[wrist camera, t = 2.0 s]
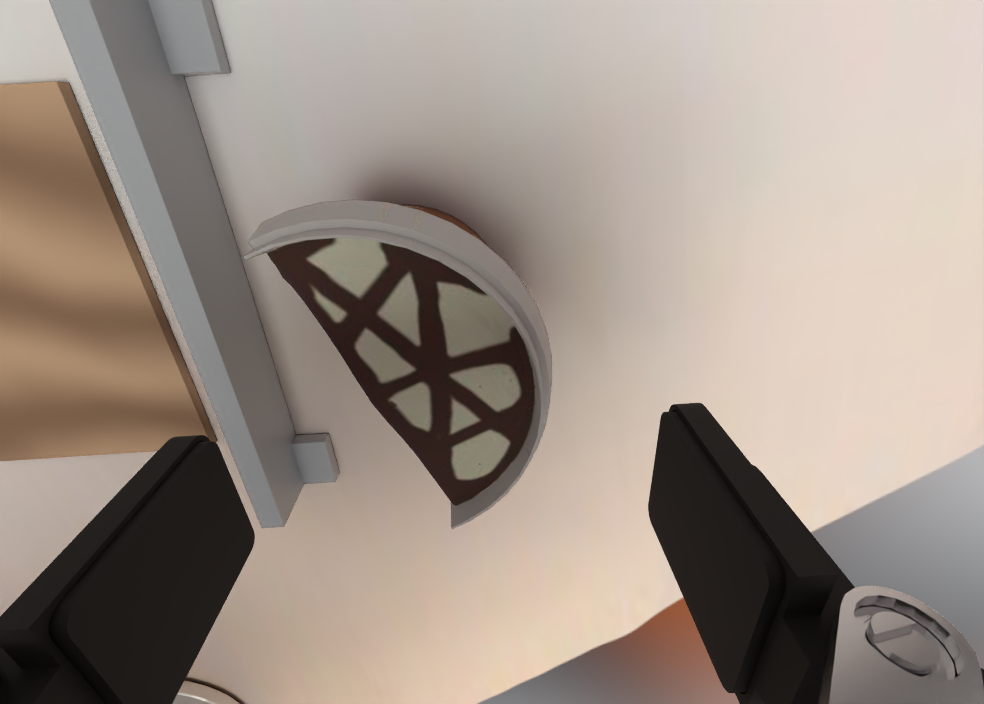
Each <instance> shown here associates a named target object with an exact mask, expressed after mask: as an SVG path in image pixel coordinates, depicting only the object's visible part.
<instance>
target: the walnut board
mask: <svg viewBox="0 0 984 704" xmlns="http://www.w3.org/2000/svg"><path fill="white" fill-rule="evenodd" d="M194 435H204V436H206V437H208V438H209V440H210V441H212V442H215V443H216V441H217V439H216V437H215V434H214V432H213V429H212V427H211V425H210V422H209V420H208V417H207V415H206V413H205V410H204V408H203V405H202V403H201V401H200V398H199V396H198V393H197V391H196V388H195V386H194V384H193V381H192V379H191V376H190V374H189V372H188V369H187V367H186V364H185V362H184V360H183V357H182V355H181V352H180V350H179V348H178V345H177V343H176V340H175V338H174V335H173V333H172V331H171V328H170V326H169V323H168V321H167V319H166V316H165V314H164V311H163V309H162V307H161V304H160V302H159V299H158V297H157V295H156V292H155V290H154V287H153V285H152V282H151V280H150V278H149V275H148V273H147V270H146V268H145V266H144V263H143V261H142V258H141V256H140V254H139V251H138V249H137V246H136V244H135V242H134V239H133V237H132V234H131V232H130V229H129V227H128V225H127V222H126V220H125V217H124V215H123V213H122V210H121V208H120V205H119V203H118V201H117V198H116V196H115V193H114V191H113V189H112V186H111V184H110V181H109V179H108V176H107V174H106V172H105V169H104V167H103V164H102V162H101V160H100V157H99V155H98V152H97V150H96V148H95V145H94V143H93V140H92V138H91V136H90V133H89V131H88V128H87V126H86V123H85V121H84V119H83V116H82V114H81V111H80V109H79V107H78V104H77V102H76V99H75V97H74V95H73V92H72V90H71V87H70V85H69V83H67V82H41V83H24V84H7V85H0V461H11V460H26V459H42V458H57V457H72V456H87V455H102V454H117V453H132V452H147V451H158V450H159V449H160V448H161V447H162V446H163V445H164V444H165V443H166V442H167V441H168V440H169V439H171V438H173V437H178V436H194Z"/></svg>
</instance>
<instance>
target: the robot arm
mask: <svg viewBox="0 0 984 704" xmlns="http://www.w3.org/2000/svg"><path fill="white" fill-rule="evenodd" d="M648 510H649V517H650V521H651V523H652V526H653V528H654V530H655V533H656V535H657V537H658V539H659V542H660V544H661V546H662V549H663V551H664V553H665V556H666V558H667V560H668V562H669V565H670V567H671V569H672V572H673V574H674V576H675V578H676V581H677V583H678V585H679V588H680V590H681V592H682V595H683V597H684V599H685V601H686V604H687V606H688V608H689V611H690V613H691V615H692V617H693V619H694V622H695V624H696V627H697V629H698V631H699V633H700V635H701V638H702V640H703V642H704V645H705V647H706V650H707V652H708V654H709V656H710V659H711V661H712V663H713V665H714V668H715V670H716V672H717V675H718V677H719V679H720V681H721V683H722V685H723V687H724V688H725V690H726V691H727V692H728V693H735V694H736V696H737V698H738V700H739V703H740V704H984V669H982V668H981V667H980V665H979V662H978V659H977V656H976V653H975V651H974V650H973V648H972V647H971V646H970V644H969V643H968V641H967V640H966V639H965V637H964V636H963V635H962V634H961V633H960V632H959V631H958V630H957V629H956V628H955V627H954V626H953V625H952V624H951V623H950V622H949V621H948V620H947V619H946V618H944V617H943V616H942V615H940V614H939V613H937V612H936V611H935V610H933V609H932V608H930V607H929V606H927V605H926V604H924V603H922V602H920V601H918V600H916V599H914V598H912V597H911V596H908V595H907V594H904V593H901V592H898V591H895V590H892V589H889V588H885V587H877V586H869V585H868V586H862V587H856V588H855V587H854V586H853V585H852V583H851V582H850V581H849V580H848V578H847V577H846V576H845V575H844V573H843V572H842V571H841V570H840V569H839V567H838V566H837V565H836V564H835V562H834V561H833V560H832V559H831V557H830V556H829V555H828V554H827V552H826V551H825V550H824V549H823V547H822V546H821V545H820V544H819V543H818V541H817V540H816V539H815V538H814V536H813V535H812V534H811V533H810V531H809V530H808V529H807V528H806V526H805V525H804V524H803V523H802V522H801V520H800V519H799V518H798V517H797V515H796V514H795V513H794V512H793V510H792V509H791V508H790V507H789V505H788V504H787V503H786V502H785V501H784V499H783V498H782V497H781V496H780V494H779V493H778V492H777V491H776V489H775V488H774V487H773V486H772V485H771V483H770V482H769V481H768V480H767V478H766V477H765V476H764V475H763V473H762V472H761V471H760V470H759V469H758V468H757V467H756V466H754V465H751V463H750V462H749V461H748V460H747V458H746V457H745V456H744V455H743V453H742V452H741V451H740V450H739V448H738V447H737V446H736V445H735V443H734V442H733V441H732V440H731V438H730V437H729V436H728V435H727V433H726V432H725V431H724V430H723V428H722V427H721V426H720V425H719V423H718V422H717V421H716V420H715V418H714V417H713V416H712V415H711V413H710V412H709V411H708V410H707V408H706V407H705V406H704V405H703V404H701V403H689V404H674V405H672V406H671V407H670V409H669V412H664V413H662V415H661V420H660V427H659V434H658V441H657V448H656V455H655V462H654V469H653V476H652V483H651V490H650V497H649V504H648ZM254 539H255V536H254V530H253V528H252V525H251V523H250V521H249V518H248V516H247V513H246V511H245V509H244V506H243V504H242V502H241V499H240V497H239V494H238V492H237V490H236V487H235V485H234V483H233V480H232V478H231V475H230V473H229V471H228V468H227V466H226V463H225V461H224V459H223V456H222V454H221V452H220V449H219V447H218V445H217V444H216V443H215V442H212V441H210V440H209V438H208V437H206V436H204V435H194V436H178V437H173V438H171V439H169V440H168V441H167V442H166V443H165V444H164V445H163V446H162V447H161V448H160V449H159V450H158V451H157V452H156V453H155V454H154V456H153V457H152V458H151V459H150V460H149V461H148V462H147V463H146V464H145V465H144V466H143V467H142V468H141V469H140V470H139V471H138V472H137V473H136V474H135V476H134V477H133V478H132V479H131V480H130V481H129V482H128V483H127V484H126V485H125V486H124V487H123V488H122V489H121V490H120V491H119V492H118V493H117V494H116V495H115V497H114V498H113V499H112V500H111V501H110V502H109V503H108V504H107V505H106V506H105V507H104V508H103V509H102V510H101V511H100V512H99V513H98V514H97V515H96V517H95V518H94V519H93V520H92V521H91V522H90V523H89V524H88V525H87V526H86V527H85V528H84V529H83V530H82V531H81V532H80V533H79V534H78V535H77V536H76V538H75V539H74V540H73V541H72V542H71V543H70V544H69V545H68V546H67V547H66V548H65V549H64V550H63V551H62V552H61V553H60V554H59V555H58V556H57V558H56V559H55V560H54V561H53V562H52V563H51V564H50V565H49V566H48V567H47V568H46V569H45V570H44V571H43V572H42V573H41V574H40V575H39V576H38V577H37V579H36V580H35V581H34V582H33V583H32V584H31V585H30V586H29V587H28V588H27V589H26V590H25V591H24V592H23V593H22V594H21V595H20V596H19V597H18V599H17V600H16V601H15V602H14V603H13V604H12V605H11V606H10V607H9V608H8V609H7V610H6V611H5V612H4V613H3V614H2V615H1V616H0V704H240V703H239V702H237V701H236V700H234V699H233V698H232V697H230V696H229V695H227V694H225V693H223V692H221V691H219V690H216V689H214V688H211V687H208V686H206V685H202V684H198V683H194V682H190V681H184V680H185V678H186V676H187V675H188V673H189V671H190V669H191V667H192V665H193V663H194V661H195V659H196V657H197V655H198V653H199V651H200V649H201V647H202V645H203V643H204V642H205V640H206V638H207V636H208V634H209V632H210V630H211V628H212V626H213V624H214V622H215V620H216V618H217V616H218V614H219V612H220V611H221V609H222V607H223V605H224V603H225V601H226V599H227V597H228V595H229V593H230V591H231V589H232V587H233V585H234V583H235V581H236V580H237V578H238V576H239V574H240V572H241V570H242V568H243V566H244V564H245V562H246V560H247V558H248V556H249V554H250V552H251V550H252V548H253V545H254Z"/></svg>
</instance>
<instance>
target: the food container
mask: <svg viewBox="0 0 984 704" xmlns="http://www.w3.org/2000/svg"><path fill="white" fill-rule="evenodd" d="M248 243H249V244H250V245H251V247H252V248H253V250H252V251H250V252H249V253H248V254H246V255H245V256H244V258H245V259H248V258H251V257H254V256H257V255H260V254H263V253H266V252H267V254H268V256H269V257H270V259H271V260H272V261H273V263H274V264H275V265H276V267H277V268H278V270H279V272H280V274H281V275H282V277H283V278H284V279H285V280H286V281H287V282H288V283H289V284H290V285H291V286H292V287H293V288H294V290H295V291H296V292H297V293H298V295H299V296H300V297H301V298H302V300H303V301H304V302H305V304H306V305H307V307H308V308H309V309H310V311H311V312H312V313H313V315H314V316H315V318H316V319H317V320H318V322H319V323H320V325H321V326H322V327H323V329H324V330H325V332H326V333H327V335H328V336H329V338H330V339H331V341H332V342H333V344H334V345H335V347H336V348H337V349H338V351H339V352H340V354H341V356H342V357H343V359H344V360H345V362H346V364H347V365H348V367H349V368H350V370H351V372H352V373H353V375H354V376H355V378H356V380H357V381H358V383H359V384H360V386H361V387H362V389H363V390H364V392H365V393H366V395H367V396H368V398H369V400H370V401H371V402H372V404H373V405H374V406H375V408H376V409H377V410H378V411H379V412H380V413H381V415H382V416H383V417H384V418H385V419H386V421H387V422H388V423H389V424H390V425H391V426H392V427H393V428H394V429H395V431H396V432H397V433H398V434H399V435H400V436H401V437H402V438H403V439H404V441H405V442H406V443H407V444H408V445H409V447H410V448H411V449H412V450H413V451H414V452H415V454H416V455H417V456H418V458H419V459H420V460H421V462H422V463H423V464H424V466H425V467H426V468H427V470H428V471H429V472H430V474H431V475H432V476H433V478H434V479H435V481H436V482H437V483H438V485H439V486H440V487H441V489H442V490H443V491H444V493H445V494H446V495H447V497H448V498H449V500H450V501H451V528H452V529H454V528H456V527H458V526H460V525H462V524H464V523H467V522H469V521H471V520H473V519H474V518H476V517H477V516H479V515H480V514H482V513H484V512H485V511H487V510H488V509H490V508H491V507H492V506H493V505H494V504H496V503H497V502H498V501H499V500H500V499H501V498H503V497H504V496H505V495H506V494H507V493H508V492H509V491H510V489H511V488H512V487H513V486H514V485H515V483H516V482H517V481H518V480H519V479H520V477H521V476H522V474H523V473H524V471H525V469H526V468H527V466H528V464H529V462H530V461H531V459H532V457H533V454H534V452H535V451H536V449H537V447H538V445H539V442H540V439H541V437H542V434H543V431H544V429H545V426H546V420H547V415H548V409H549V404H550V394H551V385H552V355H551V350H550V345H549V340H548V334H547V330H546V328H545V325H544V323H543V320H542V317H541V315H540V312H539V310H538V307H537V305H536V304H535V302H534V300H533V299H532V297H531V295H530V294H529V292H528V290H527V289H526V287H525V285H524V284H523V282H522V281H521V280H520V279H519V278H518V276H517V275H516V274H515V273H514V272H513V270H512V269H511V268H510V267H509V266H508V265H507V263H506V262H505V261H504V260H503V259H502V258H501V257H499V256H498V255H497V254H496V253H495V252H493V251H492V250H491V249H490V248H489V247H488V246H487V244H486V243H485V242H484V241H483V240H482V239H481V238H480V236H479V235H478V234H477V233H476V232H475V231H473V230H472V229H471V228H470V227H469V226H467V225H466V224H465V223H463V222H462V221H460V220H458V219H457V218H455V217H453V216H452V215H449V214H447V213H444V212H442V211H439V210H437V209H433V208H429V207H424V206H420V205H405V204H401V205H397V204H393V203H388V202H377V201H364V200H343V201H331V202H320V203H316V204H312V205H308V206H304V207H300V208H296V209H292V210H289V211H286V212H284V213H282V214H280V215H277V216H275V217H273V218H271V219H269V220H266V221H264V222H262V223H261V225H260V226H259V227H258V229H257V230H256V231H255V233H254V234H253V235H252V237H251V238H250V239H249V241H248Z"/></svg>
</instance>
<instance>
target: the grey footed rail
mask: <svg viewBox="0 0 984 704" xmlns="http://www.w3.org/2000/svg"><path fill="white" fill-rule="evenodd" d="M49 2H50V4H51V7H52V9H53V12H54V14H55V17H56V19H57V22H58V24H59V27H60V29H61V32H62V34H63V37H64V39H65V41H66V44H67V46H68V49H69V51H70V54H71V56H72V59H73V61H74V64H75V66H76V69H77V71H78V74H79V76H80V79H81V81H82V84H83V86H84V89H85V91H86V94H87V96H88V99H89V101H90V103H91V106H92V108H93V111H94V113H95V116H96V118H97V121H98V123H99V126H100V128H101V131H102V133H103V136H104V138H105V141H106V143H107V146H108V148H109V151H110V153H111V156H112V158H113V161H114V163H115V165H116V168H117V170H118V173H119V175H120V178H121V180H122V183H123V185H124V188H125V190H126V193H127V195H128V198H129V200H130V203H131V205H132V208H133V210H134V213H135V215H136V218H137V220H138V223H139V225H140V227H141V230H142V232H143V235H144V237H145V240H146V242H147V245H148V247H149V250H150V252H151V255H152V257H153V260H154V262H155V265H156V267H157V270H158V272H159V275H160V277H161V280H162V282H163V284H164V287H165V289H166V292H167V294H168V297H169V299H170V302H171V304H172V307H173V309H174V312H175V314H176V317H177V319H178V322H179V324H180V327H181V329H182V332H183V334H184V337H185V339H186V342H187V344H188V346H189V349H190V351H191V354H192V356H193V359H194V361H195V364H196V366H197V369H198V371H199V374H200V376H201V379H202V381H203V384H204V386H205V389H206V391H207V394H208V396H209V399H210V401H211V404H212V406H213V408H214V411H215V413H216V416H217V418H218V421H219V423H220V426H221V428H222V431H223V433H224V436H225V438H226V441H227V443H228V446H229V448H230V451H231V453H232V456H233V458H234V461H235V463H236V465H237V468H238V470H239V473H240V475H241V478H242V480H243V483H244V485H245V488H246V490H247V493H248V495H249V498H250V500H251V503H252V505H253V508H254V510H255V513H256V515H257V518H258V520H259V523H260V525H261V527H262V528H271V527H284V526H285V524H286V522H287V520H288V517H289V515H290V513H291V511H292V509H293V507H294V505H295V502H296V500H297V498H298V496H299V494H300V492H301V489H302V487H303V485H304V484H311V483H325V482H336V480H337V477H338V475H339V469H338V466H337V462H336V458H335V455H334V451H333V447H332V444H331V440H330V436H329V433H324V434H309V435H296V433H295V430H294V427H293V424H292V421H291V417H290V414H289V411H288V408H287V405H286V402H285V398H284V395H283V392H282V389H281V386H280V382H279V379H278V376H277V373H276V370H275V366H274V363H273V360H272V357H271V354H270V350H269V347H268V344H267V341H266V338H265V334H264V331H263V328H262V325H261V322H260V318H259V315H258V312H257V309H256V306H255V303H254V299H253V296H252V293H251V290H250V287H249V283H248V280H247V277H246V274H245V271H244V267H243V264H242V261H241V258H240V255H239V251H238V248H237V245H236V242H235V239H234V235H233V232H232V229H231V226H230V223H229V220H228V216H227V213H226V210H225V207H224V204H223V200H222V197H221V194H220V191H219V188H218V184H217V181H216V178H215V175H214V172H213V168H212V165H211V162H210V159H209V156H208V152H207V149H206V146H205V143H204V140H203V137H202V133H201V130H200V127H199V124H198V121H197V117H196V114H195V111H194V108H193V105H192V101H191V98H190V95H189V92H188V89H187V85H186V82H185V79H184V76H188V75H205V74H222V73H231V72H230V68H229V64H228V61H227V57H226V53H225V50H224V46H223V42H222V39H221V35H220V31H219V28H218V24H217V20H216V17H215V13H214V9H213V6H212V2H211V0H49Z"/></svg>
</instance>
